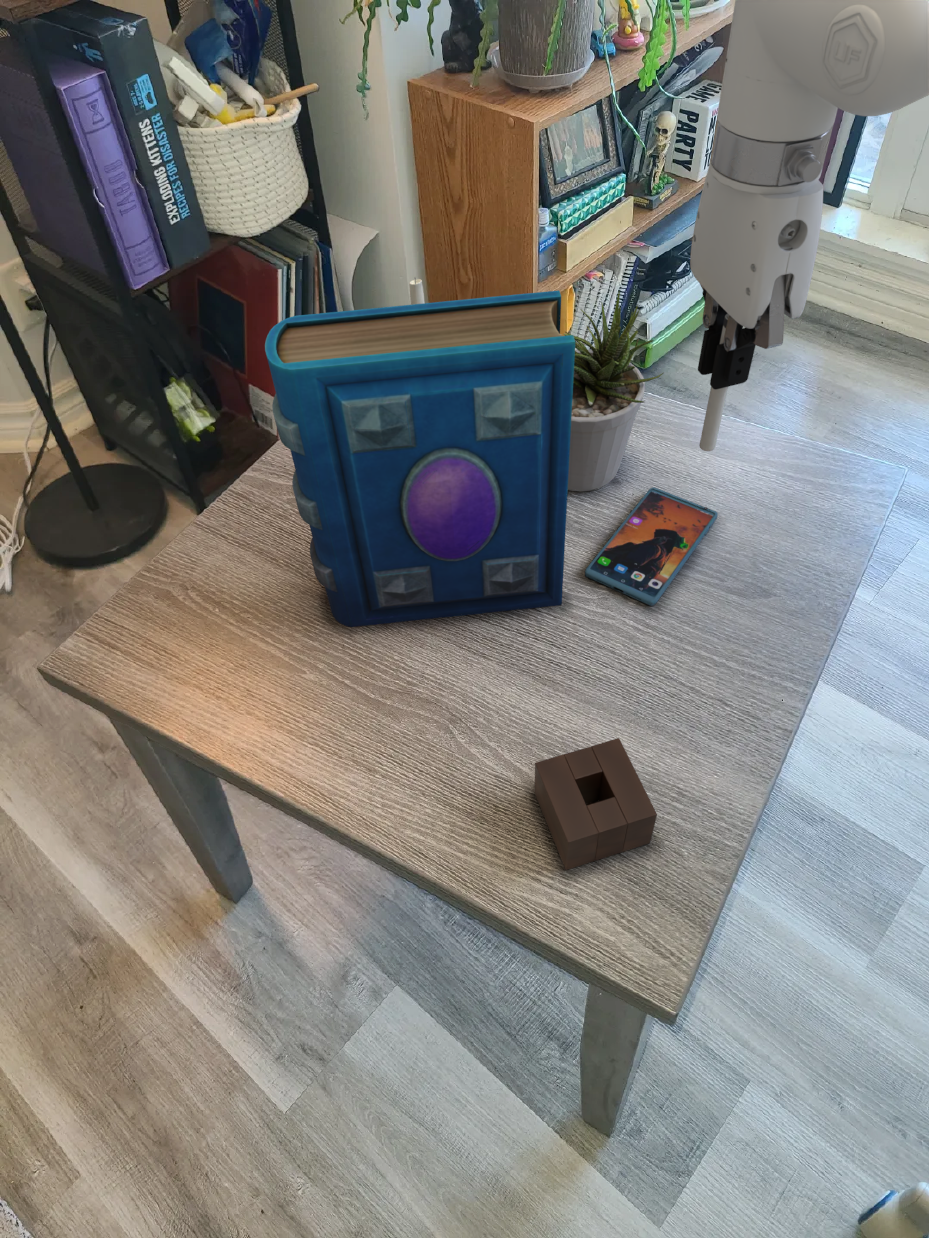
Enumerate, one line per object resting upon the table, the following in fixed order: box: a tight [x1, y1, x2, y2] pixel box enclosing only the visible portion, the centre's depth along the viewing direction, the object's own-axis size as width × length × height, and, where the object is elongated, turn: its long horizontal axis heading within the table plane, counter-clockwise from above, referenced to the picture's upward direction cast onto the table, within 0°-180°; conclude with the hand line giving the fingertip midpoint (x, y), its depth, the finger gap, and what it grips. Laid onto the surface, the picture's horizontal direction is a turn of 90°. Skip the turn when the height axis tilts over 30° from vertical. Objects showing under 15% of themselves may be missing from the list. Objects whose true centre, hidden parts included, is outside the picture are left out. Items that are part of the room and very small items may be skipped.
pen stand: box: [533, 737, 658, 871], centre depth 73 cm, size 7×7×5 cm
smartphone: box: [584, 486, 719, 607], centre depth 94 cm, size 8×1×15 cm
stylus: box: [699, 314, 729, 452], centre depth 76 cm, size 1×1×13 cm
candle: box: [408, 277, 426, 305], centre depth 108 cm, size 5×5×16 cm
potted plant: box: [563, 291, 664, 492], centre depth 95 cm, size 13×14×20 cm
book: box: [264, 289, 576, 628], centre depth 80 cm, size 24×9×30 cm, turn 95°
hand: (722, 376), depth 75 cm, fingers closed on stylus, 1 cm apart
